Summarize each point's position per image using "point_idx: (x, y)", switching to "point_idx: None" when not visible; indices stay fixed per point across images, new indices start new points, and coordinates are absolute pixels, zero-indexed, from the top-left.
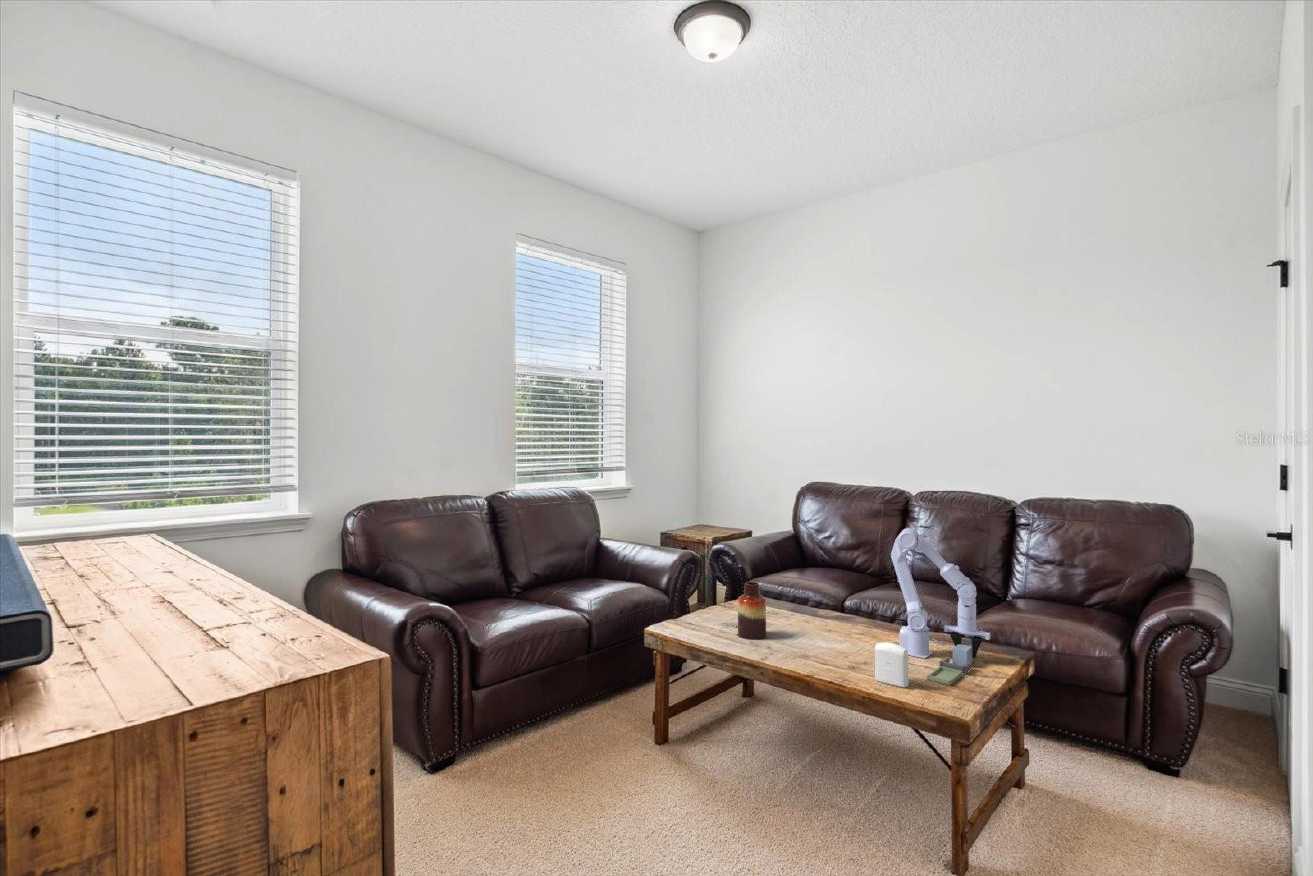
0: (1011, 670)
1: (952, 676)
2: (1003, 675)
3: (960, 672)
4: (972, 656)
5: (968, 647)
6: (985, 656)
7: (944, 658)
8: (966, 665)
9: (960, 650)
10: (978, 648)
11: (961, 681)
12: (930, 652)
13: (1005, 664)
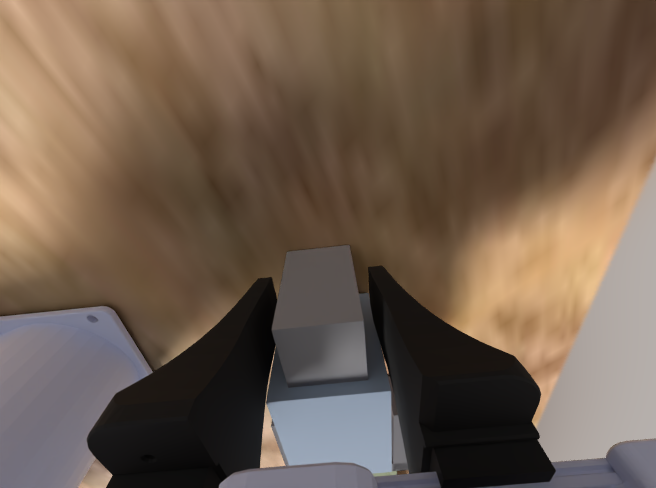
0: (606, 249)
1: (374, 476)
2: (553, 344)
3: (396, 474)
4: (373, 314)
5: (372, 419)
6: (394, 58)
7: (281, 448)
8: (405, 455)
9: None
10: (417, 303)
11: (408, 470)
12: (107, 330)
13: (574, 155)
